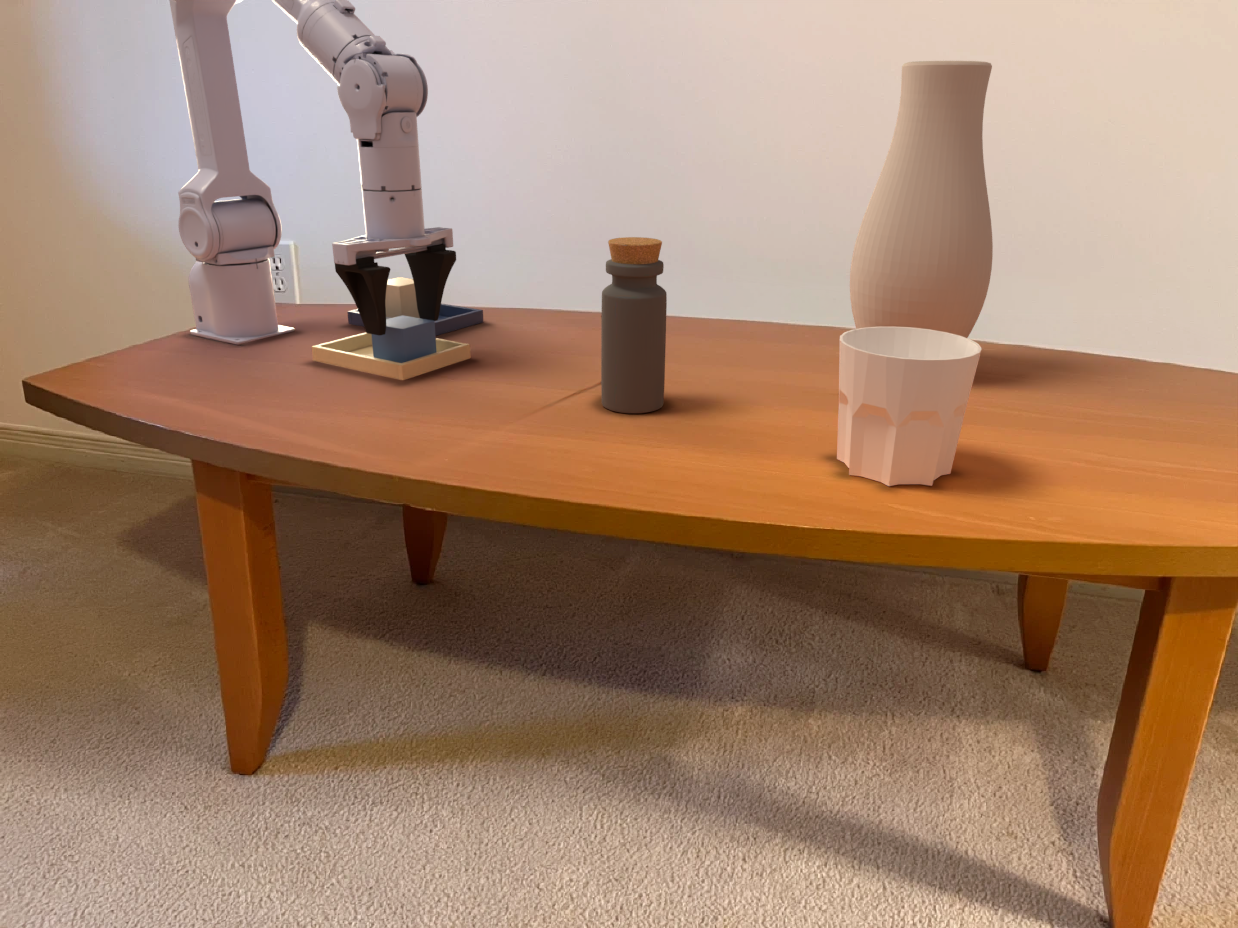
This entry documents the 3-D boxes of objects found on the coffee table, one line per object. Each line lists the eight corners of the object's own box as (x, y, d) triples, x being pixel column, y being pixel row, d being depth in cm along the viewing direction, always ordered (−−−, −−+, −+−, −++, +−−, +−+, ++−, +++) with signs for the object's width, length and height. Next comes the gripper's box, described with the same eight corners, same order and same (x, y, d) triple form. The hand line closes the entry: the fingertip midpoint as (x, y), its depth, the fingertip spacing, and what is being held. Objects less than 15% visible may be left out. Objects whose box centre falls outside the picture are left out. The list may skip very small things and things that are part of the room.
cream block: (376, 318, 114) (372, 282, 112) (402, 312, 118) (399, 276, 116) (402, 323, 112) (399, 286, 110) (428, 316, 115) (425, 280, 114)
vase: (995, 387, 90) (1052, 59, 79) (859, 386, 90) (897, 58, 79) (946, 352, 103) (989, 66, 92) (827, 351, 103) (855, 64, 91)
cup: (847, 492, 65) (863, 360, 61) (813, 444, 74) (824, 326, 71) (982, 491, 66) (1005, 359, 62) (931, 443, 75) (948, 326, 71)
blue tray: (348, 326, 112) (347, 311, 111) (407, 311, 120) (406, 297, 119) (427, 341, 105) (426, 325, 104) (483, 324, 113) (483, 309, 112)
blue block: (374, 366, 93) (370, 323, 92) (405, 357, 97) (402, 314, 95) (406, 373, 91) (402, 329, 89) (437, 363, 95) (434, 320, 93)
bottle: (671, 398, 86) (676, 237, 80) (653, 417, 80) (657, 246, 75) (613, 392, 87) (614, 234, 82) (592, 409, 82) (591, 242, 77)
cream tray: (313, 363, 96) (311, 346, 95) (383, 343, 104) (382, 327, 103) (403, 383, 89) (401, 365, 89) (471, 361, 97) (470, 343, 97)
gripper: (364, 197, 80) (378, 346, 85) (472, 186, 91) (479, 318, 96) (310, 192, 83) (327, 336, 88) (421, 182, 95) (430, 310, 100)
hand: (403, 326), depth 93 cm, fingers open, 7 cm apart
